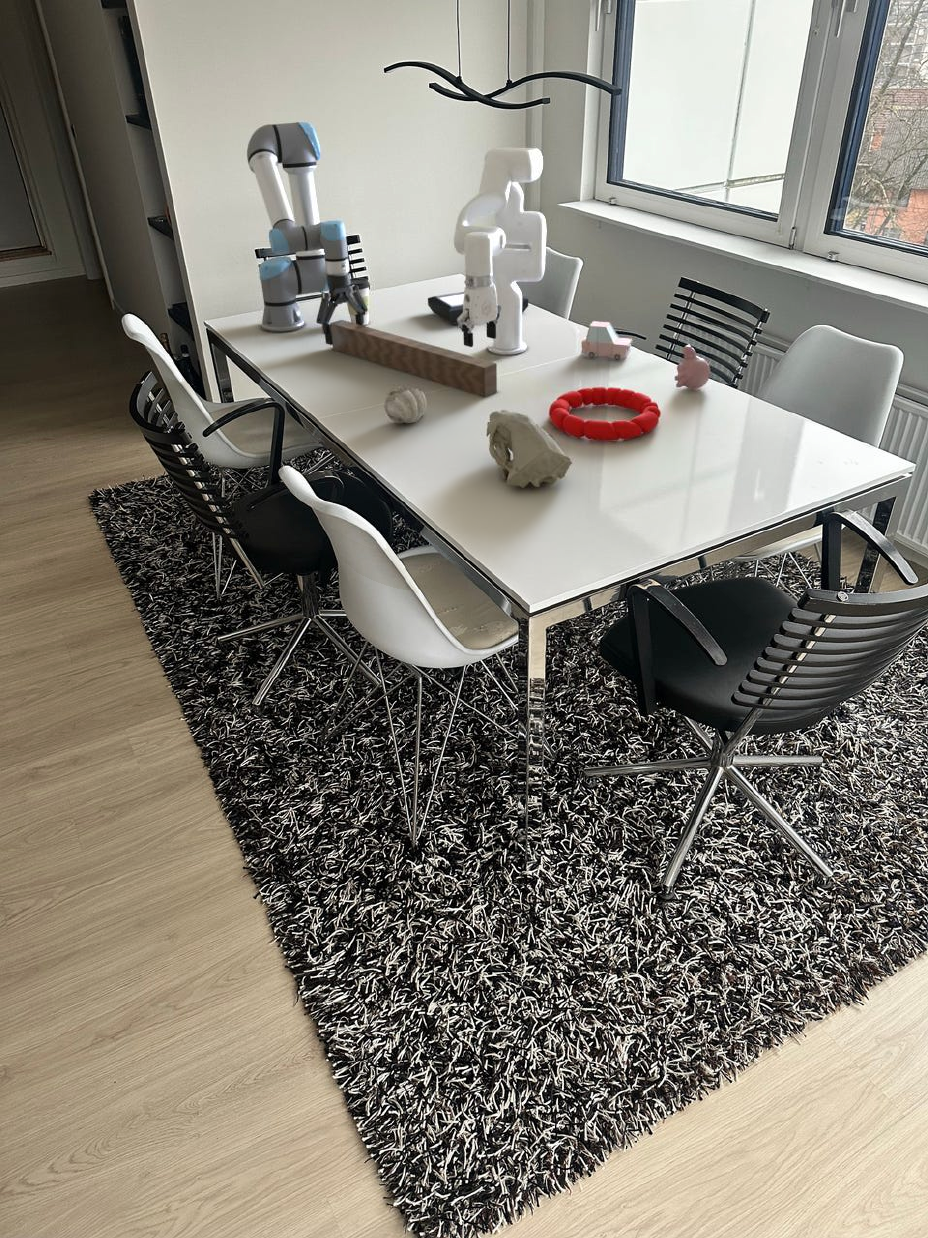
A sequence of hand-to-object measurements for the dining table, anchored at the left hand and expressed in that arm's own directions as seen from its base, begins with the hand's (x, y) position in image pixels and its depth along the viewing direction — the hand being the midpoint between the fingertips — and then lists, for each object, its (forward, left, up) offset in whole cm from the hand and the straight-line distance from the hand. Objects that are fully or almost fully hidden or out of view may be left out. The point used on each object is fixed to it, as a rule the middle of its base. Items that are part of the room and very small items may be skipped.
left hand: (345, 339), depth 300 cm
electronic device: (-30, +51, -4) cm, 59 cm away
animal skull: (+107, +36, -4) cm, 113 cm away
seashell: (+69, +12, -4) cm, 71 cm away
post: (+25, +18, -4) cm, 31 cm away
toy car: (+29, +82, -4) cm, 88 cm away
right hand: (+50, +37, +11) cm, 63 cm away
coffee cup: (-29, +7, -4) cm, 30 cm away
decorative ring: (+82, +65, -4) cm, 105 cm away
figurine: (+64, +97, -4) cm, 116 cm away
